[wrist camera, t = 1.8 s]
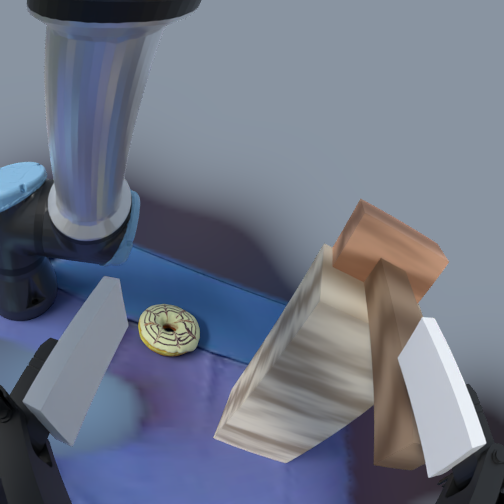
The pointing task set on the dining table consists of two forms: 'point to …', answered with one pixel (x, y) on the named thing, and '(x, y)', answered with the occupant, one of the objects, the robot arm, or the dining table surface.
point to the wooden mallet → (390, 317)
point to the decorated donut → (168, 318)
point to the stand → (305, 369)
